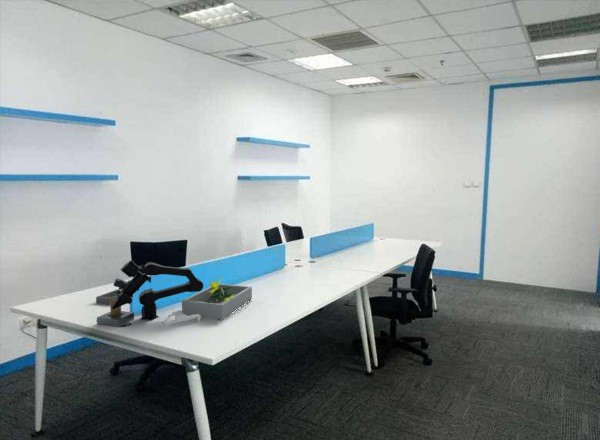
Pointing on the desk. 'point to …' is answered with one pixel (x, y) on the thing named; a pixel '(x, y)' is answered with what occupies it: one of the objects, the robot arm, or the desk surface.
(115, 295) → the end plug
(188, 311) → the planter
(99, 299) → the tray
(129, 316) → the housing
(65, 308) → the desk surface
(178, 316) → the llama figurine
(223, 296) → the daffodil flowers
